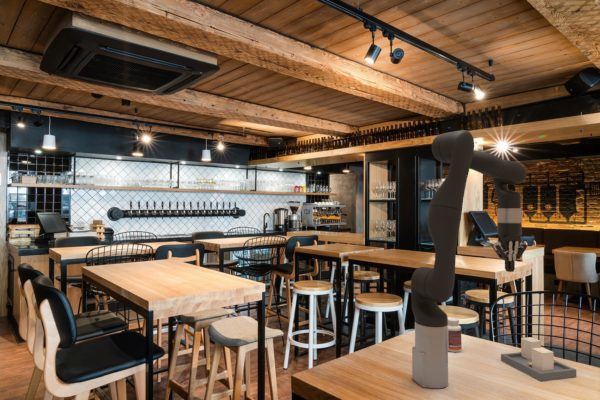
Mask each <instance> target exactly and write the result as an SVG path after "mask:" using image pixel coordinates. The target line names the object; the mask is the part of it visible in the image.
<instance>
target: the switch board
mask: <svg viewBox="0 0 600 400" xmlns="http://www.w3.org/2000/svg"><path fill="white" fill-rule="evenodd" d="M500 361H501V362H502V363H505V364H507V365H509V366H510V367H512V368H514V369H516V370H518V371H520V372H522V373H524V374H526V375H527V376H529V377H531V378H534V379H536V380H537V381H539V382H545V381H553V380H562V379H563V380H564V379H571V378H577V369H576V368H574V367H572V366H569V365H567V364H565V363H562V362H560V361H557V360H555V359H554V371H545V372H539V371H537V370H535V369H533V368H532V359H526V358H524V357H522V356H521V351H519V352H508V353H501V354H500Z"/></svg>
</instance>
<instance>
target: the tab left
mask: <svg viewBox="0 0 600 400" xmlns="http://www.w3.org/2000/svg"><path fill="white" fill-rule="evenodd" d="M520 339H521V342H520V346H521V347H520V352H521V356H522V357H524V358H526V359H532V348H542V341H541V340H539V339H536V338H534V337H532V336H531V337H530V336H529V337H521V338H520Z"/></svg>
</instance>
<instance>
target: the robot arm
mask: <svg viewBox="0 0 600 400" xmlns="http://www.w3.org/2000/svg"><path fill="white" fill-rule="evenodd" d="M431 152H432V153H431V154H432V156H434V158H435V159H436V160H437V161H438V162H441V163H445V164H450V165H449V170H448V172H447V174H446V177H445V179H444V180H443V181H442V183H441V184H440V186H439V187H438V189H436V191H435V193H434V194H433V195H432V197H431V199H430V203H429V208H428V213H427V223H426V224H427V229H428V232H429V234H430V238H431V240H432V243H433V247H434V252H435V253H434V264H433V265H434V266H433V267H428V266H420V267H419V266H418V267H417V268H416V269H415V270H414V271H413V273H412V275H411V279H410V297H411V310H412V313H413V316H414V346H412V348H411V374H412V375H411V376H412V380H413V381H414V382H416V383H417V384H418V385H419V386H420V387H422V388H429V389H443V388H446V387H448V386H449V351H448V317H449V316H448V314H447V313H446V312H445V311H444V310H442V308H441V307H440V306H439V305H438V303H441V304H443V303H445V302H448V301H449V300H450V298H451V296H452V295H453V291H454V288H455V280H456V279H455V278H456V259H457V258H456V256H457V255H456V254H457V246H458V237H459V233H460V231H459V230H460V225H461V220H462V215H463V205H464V197H465V190H466V187H467V186H466V185H467V181H468V177H469V176H468V175H469V173H470V170H473V171H475V172H477V173H480V174H482V175H484V176H487V177H489V178H491V179H492V182H493V185H494V188H495V192H496V195H497V213H496V214H497V215H496V216H497V217H496V218H497V219H496V222H497V224H496V226H497V227H496V228H497V229H496V230H497V235H498V238H497V242H496V243H495V244H492V245H491V248H492V249H493V251H494V252H495V253H496V254H497V256H498V258H499V259H501V260H503V261H504V270H505V271H506V272H507V273H514V272H515V270H516V268H515V267H516V264H515V262H516V260H520V259H521V258H522V256H523V254H524V253H525V251H526V249H527V248H528V245H527V244H525V243H523V241H522V238H521V236H522V235H523V225H522V224H523V221H522V218H523V217H522V215H523V214H522V209H521V208H522V205H521V204H522V203H521V201H522V199H521V193H520V192H519V191H514V190H511V189H510V188H509V186H508V185H518V184H521V183H523V182H524V181H526V179H527V175H528V174H527V169H526V167H525V166H524V165H522V164H521V163H520V162H517V161H513V160H508V159H503V158H501V157H500V156H498V155H497V156H496V155H494V154H493V153H490V152H486V151H481V150H476V149H475V140H474V136H473V134H472V133H471V132H470V131H468V130H466V129H465V130H463V129H462V130H455V131H451V132H450V131H449V132H445V133H440V134H438V135H437V136H435V138H434V139H433V140H432V142H431Z"/></svg>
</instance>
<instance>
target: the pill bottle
mask: <svg viewBox="0 0 600 400" xmlns="http://www.w3.org/2000/svg"><path fill="white" fill-rule="evenodd" d="M447 317H448V352H451V353H460V352H461V351H462V345H463V344H462V326H461V325H459V323H460V319H459V318H457V317H453V316H447Z"/></svg>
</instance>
